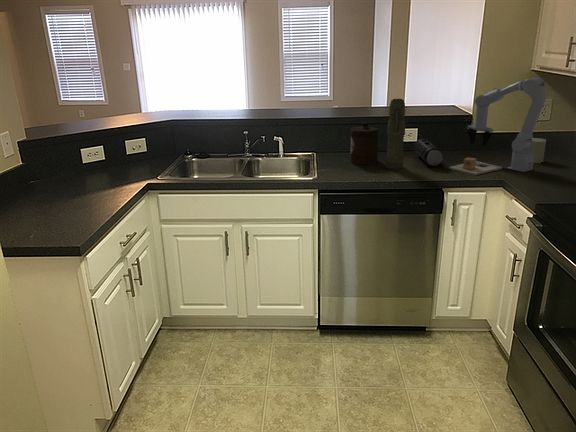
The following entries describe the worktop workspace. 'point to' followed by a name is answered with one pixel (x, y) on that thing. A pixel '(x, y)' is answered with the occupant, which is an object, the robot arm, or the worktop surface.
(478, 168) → the panel
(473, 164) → the plug
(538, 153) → the can
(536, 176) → the worktop surface
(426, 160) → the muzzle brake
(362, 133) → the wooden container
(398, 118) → the olive rounded pillar
